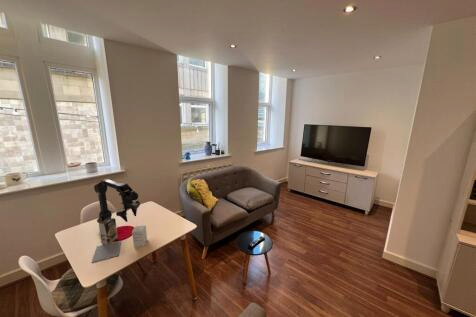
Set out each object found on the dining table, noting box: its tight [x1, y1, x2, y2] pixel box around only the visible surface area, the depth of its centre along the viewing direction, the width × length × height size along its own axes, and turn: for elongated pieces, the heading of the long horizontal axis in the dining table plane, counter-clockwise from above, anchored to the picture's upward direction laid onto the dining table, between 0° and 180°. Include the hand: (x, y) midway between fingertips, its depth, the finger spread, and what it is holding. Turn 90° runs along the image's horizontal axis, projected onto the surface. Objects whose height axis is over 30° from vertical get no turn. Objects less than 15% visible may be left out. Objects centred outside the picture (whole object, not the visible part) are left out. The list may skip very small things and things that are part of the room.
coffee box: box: [98, 217, 119, 245], centre depth 146 cm, size 9×6×16 cm
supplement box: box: [131, 225, 148, 247], centre depth 144 cm, size 7×7×13 cm
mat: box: [91, 240, 122, 264], centre depth 136 cm, size 17×15×1 cm
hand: (131, 218), depth 151 cm, fingers open, 9 cm apart
